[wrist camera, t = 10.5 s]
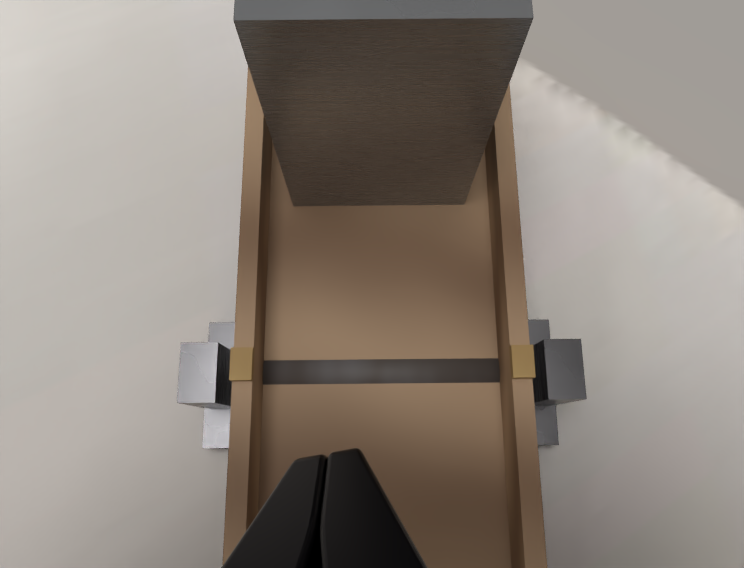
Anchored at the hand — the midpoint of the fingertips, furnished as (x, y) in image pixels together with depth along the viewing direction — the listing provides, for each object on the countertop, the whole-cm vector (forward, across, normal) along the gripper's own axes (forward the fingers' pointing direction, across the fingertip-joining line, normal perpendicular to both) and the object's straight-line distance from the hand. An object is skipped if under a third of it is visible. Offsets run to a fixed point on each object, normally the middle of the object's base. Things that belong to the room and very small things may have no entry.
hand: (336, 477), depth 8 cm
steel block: (+13, -1, -2) cm, 13 cm away
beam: (+11, -1, +3) cm, 11 cm away
